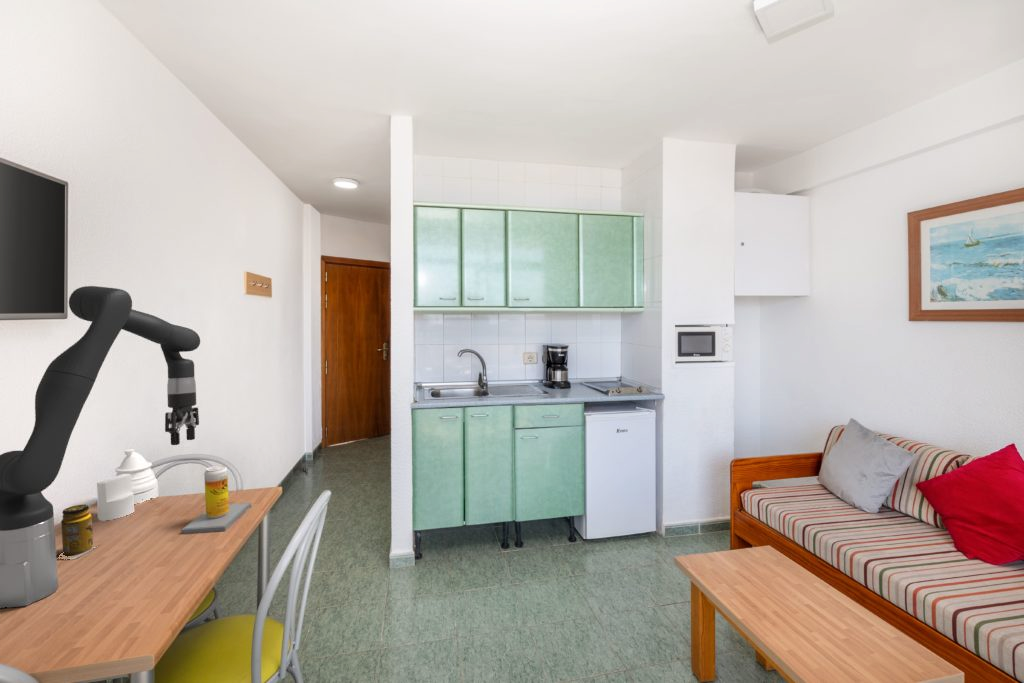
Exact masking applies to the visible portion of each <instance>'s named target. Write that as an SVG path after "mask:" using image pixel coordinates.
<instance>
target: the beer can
mask: <svg viewBox="0 0 1024 683" xmlns="http://www.w3.org/2000/svg"><path fill="white" fill-rule="evenodd" d="M203 476H204V493H205V494H204V495H205V496H204V498H205V511H206V516H208V518H211V519H214V518H220V517H223V516H225V515H226V514H227V513H228V512H229V504H230V500H229V478H228V476H229V475H228V469H227V466H226V465H223V464H222V465H213V466H209V467H206V469H205V471H204V474H203Z"/></svg>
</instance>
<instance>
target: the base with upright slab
mask: <svg viewBox="0 0 1024 683" xmlns="http://www.w3.org/2000/svg"><path fill="white" fill-rule="evenodd" d="M96 488H97V490H96V491H97V500H96V506H97V508H96V509H97V520H98V519H99V520H102V521H101V522H107V521H106V520H111V521H114V520H113V519H116V518H120V517H123V516H126V515H129V514H131V513H133V512H134V513H135V505H134V495H133V492H132V485H131V474H122V475H119V476H116V475H115V476H112V477H111V478H108V479H105V480H102V481H99V482H97V483H96ZM134 513H133V514H134ZM131 515H132V514H131ZM129 516H130V515H129ZM99 520H98V521H99Z"/></svg>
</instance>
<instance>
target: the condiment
mask: <svg viewBox="0 0 1024 683" xmlns="http://www.w3.org/2000/svg"><path fill="white" fill-rule="evenodd" d="M92 519H93V518H92V514H91V513H90V506H89V504H76V505H72V506H68V507H67V508H64V509H63V510H62V520H61V521H60V522H61V523H60V524H61V525H60V526H61V540H62V544H61V545H62V551H60V552H58V553H56V559H57V558H58V557H59V555H60V554H61V553H63V552H64V553H63V555H65V556H67V559H70V560H76V559H77V558H80V557H81V556H83V555H85V554H87V553H88V552H90V551H92V550H94V549H96V548H97V547H93V544H94V541H93V540H94V538H93V535H94V534H93V524H92V521H93V520H92ZM93 548H94V549H93ZM90 549H91V550H90ZM68 556H73V557H69V558H68ZM60 557H62V556H60ZM58 559H59V558H58ZM60 559H61V558H60ZM67 559H66V561H68V560H67ZM63 561H65V559H64V560H63Z"/></svg>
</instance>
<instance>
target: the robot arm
mask: <svg viewBox="0 0 1024 683" xmlns="http://www.w3.org/2000/svg"><path fill="white" fill-rule="evenodd" d="M68 298H69V299H68V306H69V309H70V311H71V313H72V314H73V315H75V317H77V318H79V319H81V320H83V321H87V322H90V324H89V327H88V329H87V330H86V331H85V333H84V334H83V336H81V338H80V339H78V340H77V341H76V342H75V343H74V344H72V345H71V346H70V347H68V348H67V349H65V350H63V352H61V353H60V354H59V355H57V357H56V358H54V359H53V360H52V361H51V362H50V363H49V364H48V366H47V368H46V370H45V371H44V373H43V375H42V377H41V379H40V381H39V383H38V386H37V388H36V392H35V396H34V411H35V412H34V418H35V420H34V425H33V430H32V432H31V435H30V436H29V439H28V440H27V442H26V444H25V446H24V448H23V450H11V451H6V452H3V453H2V454H1V453H0V609H5V607H7V608H15V607H16V608H17V607H19V608H20V607H27V606H29V605H30V604H33V603H35V602H37V601H40V600H42V599H44V598H47V597H48V596H50V595H52V594H54V593H55V592H56V591H57V590H58V588H59V578H58V577H59V576H58V575H59V574H58V560H57V559H56V554H57V545H56V532H55V531H56V530H55V529H56V528H55V518H54V517H55V514H54V513H55V512H54V506H53V504H52V502H50V501H49V500H48V499H47V498H45V496H44V495H43V493H42V492H43V491H44V490H46V489H47V488H49V486H51V485H52V484H53V482H54V481H55V480H56V478H57V477H58V475H59V472H60V470H61V468H62V463H63V461H64V458H65V454H66V453H67V452H66V450H67V448H68V445H69V442H70V439H71V436H72V433H73V431H74V428H75V426H76V424H77V422H78V420H79V418H80V415H81V412H82V409H83V408H84V406H85V404H86V402H87V399H88V397H89V396H90V394H91V391H92V389H93V388H94V384H95V382H96V381H97V377H98V376H99V375H98V374H99V372H100V370H101V368H102V366H103V364H104V361H105V360H106V357H107V356H108V353H109V352H110V350H111V348H112V346H113V345H114V342H115V340H116V339H117V337H118V336H119V334H120V332H121V331H122V330H123V331H126V332H128V333H131V334H134V335H136V336H139V337H141V338H143V339H146V340H148V341H151V342H152V343H155V344H158V345H160V349H161V351H162V354H163V357H164V359H165V362H166V365H167V366H166V367H167V384H166V385H167V391H166V392H167V394H166V395H167V407H168V408H169V409H172V411H171V412H165V414H164V415H165V417H164V418H165V419H164V422H165V423H164V432H165V433H169V434H170V445H171V446H179V445H180V444H181V442H180V440H181V439H180V438H181V437H180V431H181V428H182V427H183V426H184V425H185V427H186V430H185V431H186V432H185V433H186V440H187V441H194V440H195V439H196V430H195V428H196V427H197V426H199V424H200V418H199V417H200V416H199V407H198V406H197V407H194V406H196V405H197V386H196V385H197V383H196V378H195V362H194V361H193V360H192V359H189V358H183V357H182V355H181V353H183V352H184V353H185V352H193V351H195V350H197V349H198V348H199V347H200V344H201V338H200V336H199V334H198V333H197V332H196V331H195V330H193V329H191V328H189V327H185V326H181V325H176V324H172V323H170V322H168V321H166V320H164V319H162V318H161V317H158V316H155V315H152V314H151V313H150V314H149V313H147V312H143V311H139V310H135V309H133V308H132V307H133V300H132V297H131V295H130V293H129V292H128V291H126V290H125V289H120V288H116V287H115V288H114V287H107V286H97V285H86V286H79V287H78V288H76V289H74V290H73V292H72V293H71V294H70V296H69V297H68Z"/></svg>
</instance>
